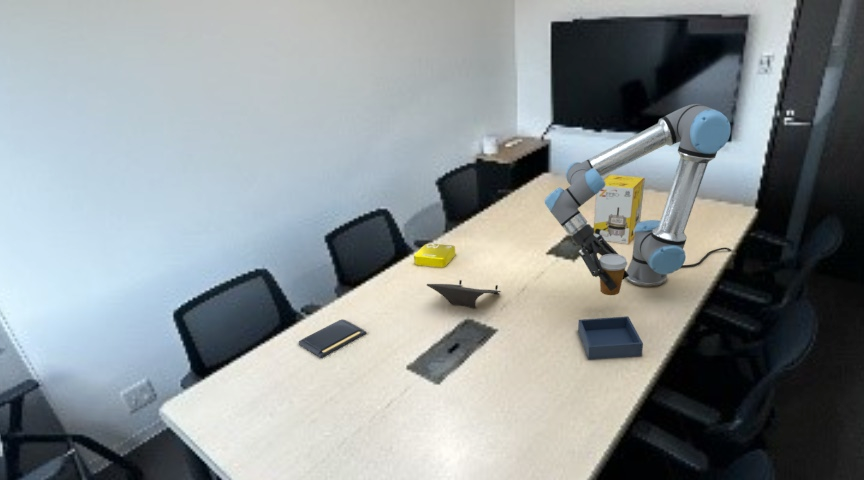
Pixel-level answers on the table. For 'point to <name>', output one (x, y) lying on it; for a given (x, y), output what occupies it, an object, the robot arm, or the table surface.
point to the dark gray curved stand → (461, 293)
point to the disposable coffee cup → (613, 271)
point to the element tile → (434, 255)
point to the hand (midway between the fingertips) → (619, 283)
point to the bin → (609, 338)
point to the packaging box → (618, 208)
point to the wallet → (331, 338)
